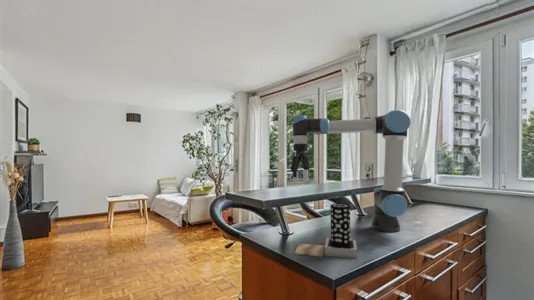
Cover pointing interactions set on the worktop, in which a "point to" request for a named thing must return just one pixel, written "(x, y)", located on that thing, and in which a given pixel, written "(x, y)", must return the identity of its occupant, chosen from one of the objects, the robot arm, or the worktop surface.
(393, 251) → the worktop surface
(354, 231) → the worktop surface
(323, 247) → the coaster
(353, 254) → the holder
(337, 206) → the white-spotted black cylinder
